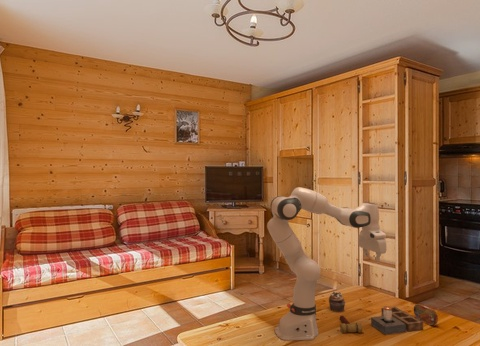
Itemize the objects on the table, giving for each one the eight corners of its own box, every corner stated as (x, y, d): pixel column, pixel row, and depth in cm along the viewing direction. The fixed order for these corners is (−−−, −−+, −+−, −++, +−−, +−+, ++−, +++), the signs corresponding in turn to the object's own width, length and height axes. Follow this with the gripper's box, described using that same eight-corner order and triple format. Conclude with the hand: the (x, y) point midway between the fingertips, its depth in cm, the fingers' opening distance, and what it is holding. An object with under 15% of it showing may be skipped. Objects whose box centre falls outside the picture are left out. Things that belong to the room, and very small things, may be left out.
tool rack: (408, 331, 177) (408, 323, 177) (381, 315, 198) (381, 308, 198) (423, 329, 179) (423, 322, 179) (395, 313, 200) (395, 306, 200)
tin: (413, 316, 195) (413, 302, 195) (418, 316, 196) (417, 301, 196) (434, 328, 181) (433, 312, 181) (439, 327, 181) (438, 311, 182)
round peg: (387, 330, 178) (386, 309, 179) (382, 327, 182) (381, 306, 183) (393, 329, 179) (393, 308, 180) (388, 326, 183) (388, 305, 183)
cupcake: (327, 311, 205) (327, 294, 205) (330, 305, 214) (329, 289, 214) (344, 313, 201) (344, 296, 201) (346, 307, 210) (345, 291, 210)
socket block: (385, 334, 174) (384, 326, 174) (371, 324, 185) (370, 317, 185) (405, 332, 176) (405, 324, 176) (390, 322, 188) (390, 315, 188)
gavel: (331, 311, 196) (349, 311, 196) (331, 320, 196) (349, 320, 196) (342, 325, 175) (361, 325, 175) (342, 334, 175) (362, 334, 175)
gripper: (354, 230, 193) (355, 254, 193) (377, 236, 173) (378, 263, 173) (364, 229, 194) (365, 253, 194) (388, 235, 174) (389, 262, 174)
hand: (372, 258), depth 183 cm, fingers open, 8 cm apart
